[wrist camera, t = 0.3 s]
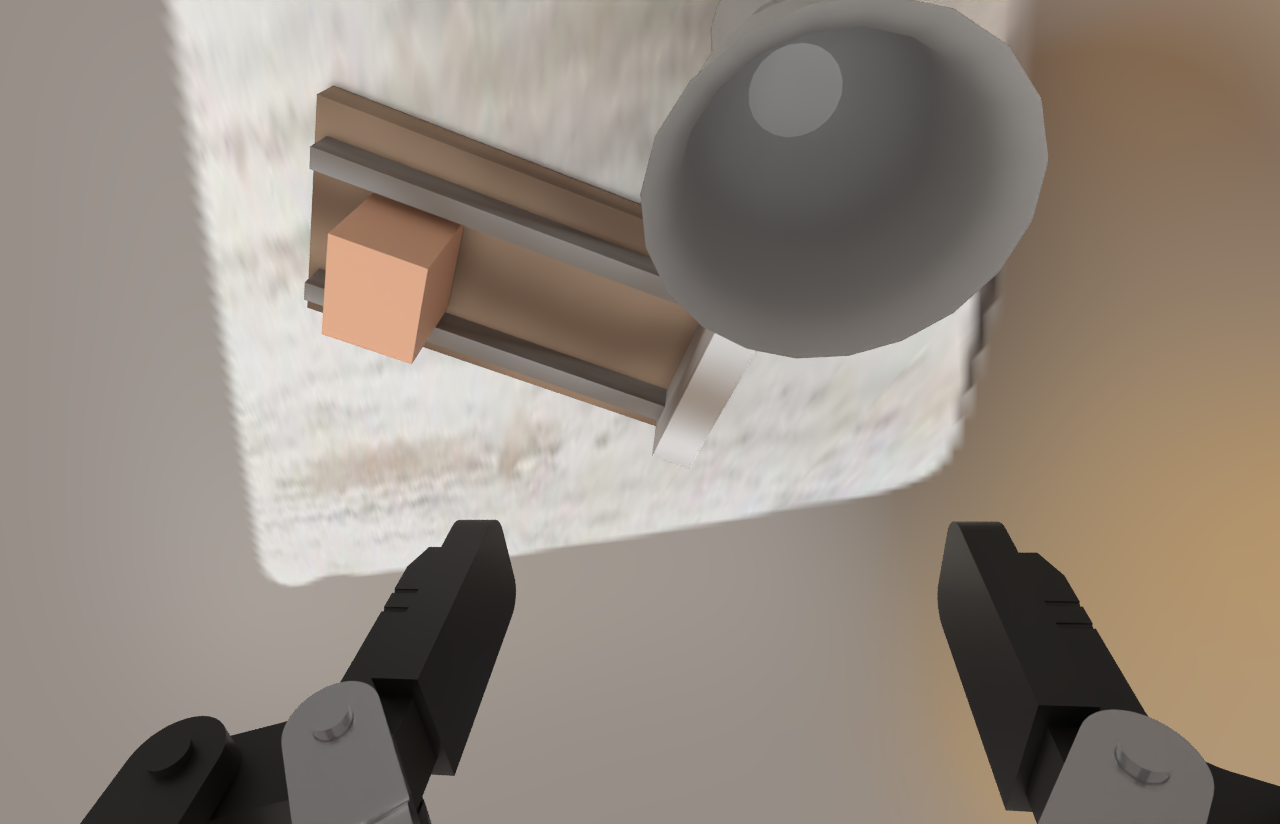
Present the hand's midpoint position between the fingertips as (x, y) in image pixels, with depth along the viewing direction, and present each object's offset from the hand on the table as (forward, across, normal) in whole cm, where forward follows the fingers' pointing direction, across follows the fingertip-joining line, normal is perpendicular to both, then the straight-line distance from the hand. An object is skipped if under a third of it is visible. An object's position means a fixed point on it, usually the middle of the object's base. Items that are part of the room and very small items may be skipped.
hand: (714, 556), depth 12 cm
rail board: (+23, +9, +2) cm, 25 cm away
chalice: (+22, -2, -8) cm, 23 cm away
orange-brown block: (+21, +15, 0) cm, 26 cm away
